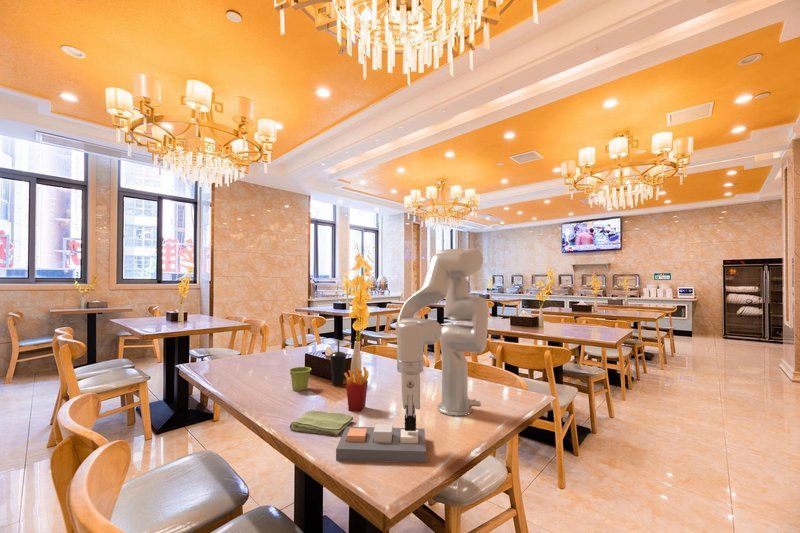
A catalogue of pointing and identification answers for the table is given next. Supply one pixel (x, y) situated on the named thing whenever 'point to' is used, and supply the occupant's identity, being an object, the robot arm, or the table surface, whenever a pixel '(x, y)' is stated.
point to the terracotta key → (357, 435)
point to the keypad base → (382, 448)
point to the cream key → (409, 436)
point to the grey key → (383, 433)
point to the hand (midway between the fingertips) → (410, 429)
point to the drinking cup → (338, 367)
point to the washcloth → (321, 422)
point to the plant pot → (300, 378)
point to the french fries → (357, 389)
